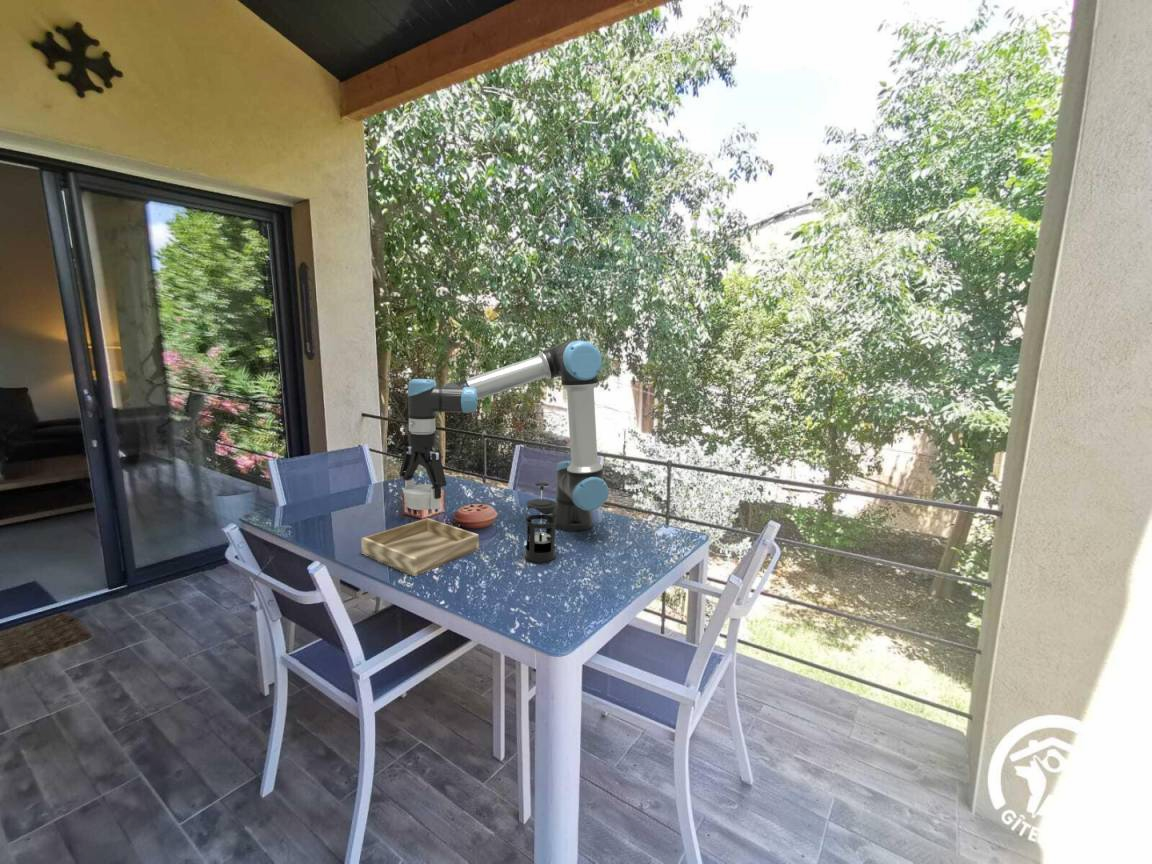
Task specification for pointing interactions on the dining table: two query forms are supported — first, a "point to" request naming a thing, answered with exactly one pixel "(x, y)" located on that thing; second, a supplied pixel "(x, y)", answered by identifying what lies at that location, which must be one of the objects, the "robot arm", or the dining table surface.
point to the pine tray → (420, 545)
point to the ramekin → (418, 496)
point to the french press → (540, 539)
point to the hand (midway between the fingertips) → (422, 504)
